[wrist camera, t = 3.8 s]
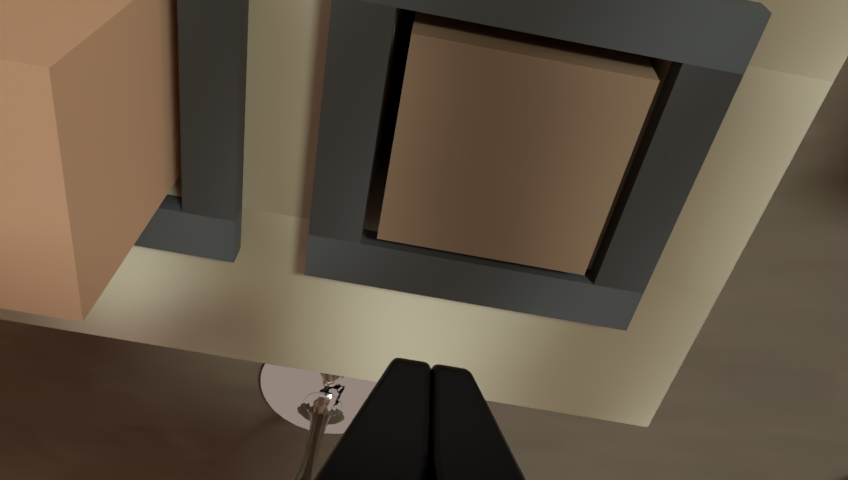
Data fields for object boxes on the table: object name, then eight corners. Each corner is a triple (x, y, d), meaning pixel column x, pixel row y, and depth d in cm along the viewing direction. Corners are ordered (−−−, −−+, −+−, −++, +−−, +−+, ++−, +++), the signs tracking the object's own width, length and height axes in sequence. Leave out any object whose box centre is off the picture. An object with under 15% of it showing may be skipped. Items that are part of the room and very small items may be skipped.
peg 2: (610, -15, 16) (659, 81, 12) (559, 146, 18) (584, 275, 14) (429, -52, 16) (411, 32, 11) (400, 116, 18) (377, 238, 14)
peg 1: (192, -48, 13) (48, 67, 8) (194, 152, 15) (82, 322, 11) (-42, -94, 12) (-310, 1, 8) (-4, 116, 15) (-196, 275, 11)
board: (838, -231, 14) (1014, -209, 9) (615, 292, 21) (651, 444, 17) (-141, -445, 13) (-475, -535, 8) (-13, 181, 20) (-151, 311, 16)
